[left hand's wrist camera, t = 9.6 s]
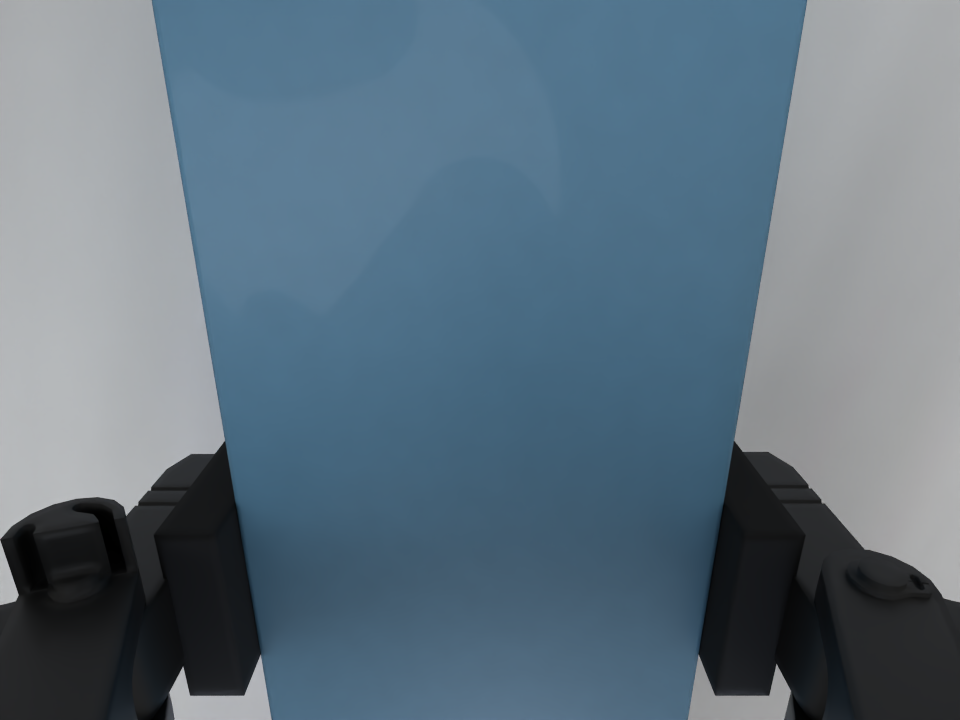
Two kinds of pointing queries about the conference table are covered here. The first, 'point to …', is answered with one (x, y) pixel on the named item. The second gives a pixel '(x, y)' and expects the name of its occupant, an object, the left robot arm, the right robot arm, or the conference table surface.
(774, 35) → the blue box
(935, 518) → the conference table surface
